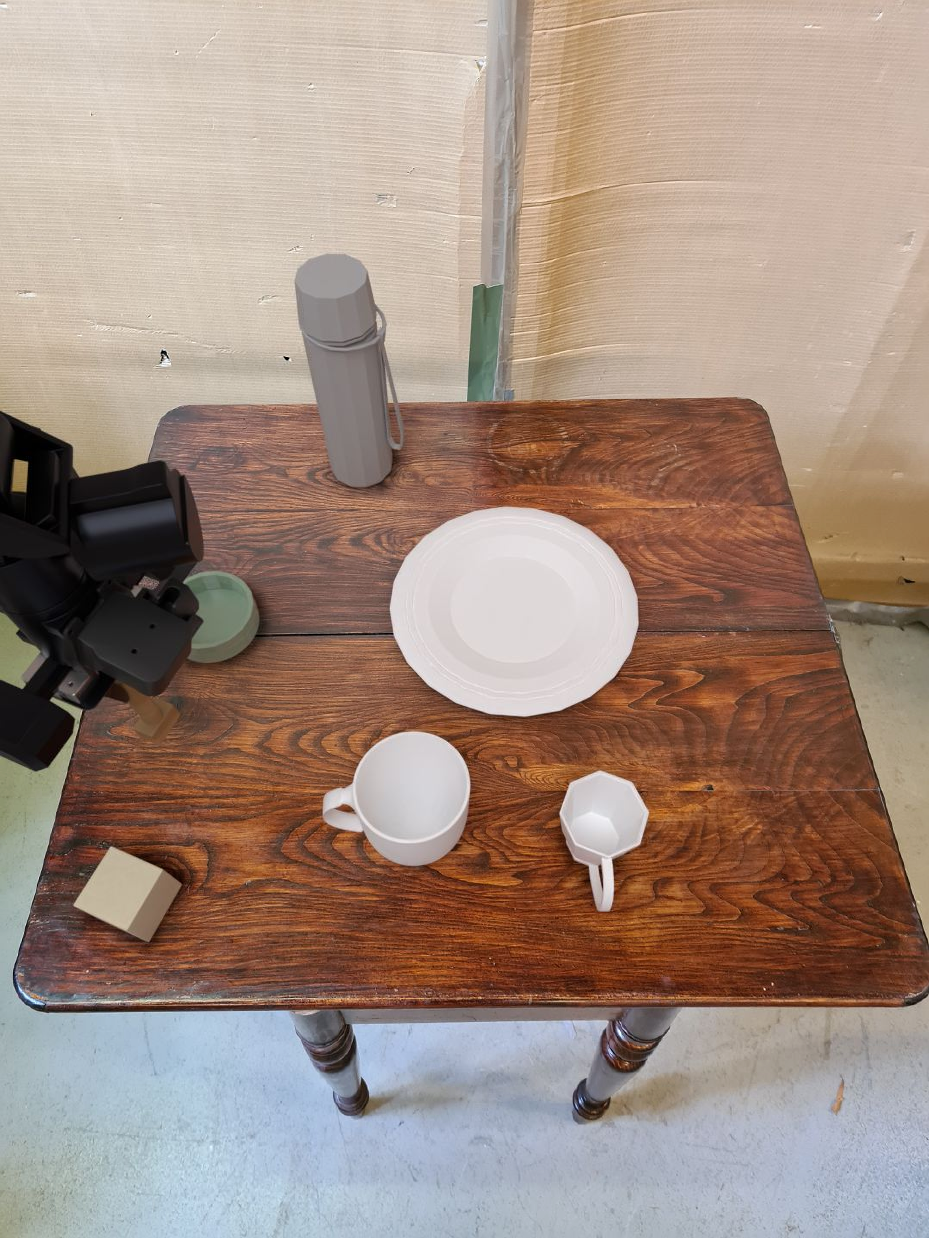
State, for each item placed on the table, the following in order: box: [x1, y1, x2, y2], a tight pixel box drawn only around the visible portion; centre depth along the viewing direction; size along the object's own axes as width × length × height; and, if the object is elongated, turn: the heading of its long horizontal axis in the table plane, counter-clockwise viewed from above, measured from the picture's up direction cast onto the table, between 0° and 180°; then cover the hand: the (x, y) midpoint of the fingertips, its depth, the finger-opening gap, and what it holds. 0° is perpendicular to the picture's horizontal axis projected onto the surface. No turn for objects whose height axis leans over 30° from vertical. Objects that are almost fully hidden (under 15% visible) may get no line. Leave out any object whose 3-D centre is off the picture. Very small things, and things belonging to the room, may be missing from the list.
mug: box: [322, 730, 471, 867], centre depth 64 cm, size 12×9×12 cm
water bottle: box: [294, 253, 405, 488], centre depth 81 cm, size 9×8×25 cm
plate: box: [389, 506, 640, 718], centre depth 80 cm, size 25×25×2 cm
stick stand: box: [73, 845, 183, 943], centre depth 64 cm, size 5×5×5 cm
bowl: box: [183, 570, 260, 664], centre depth 79 cm, size 9×9×3 cm
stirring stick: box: [115, 680, 181, 747], centre depth 64 cm, size 2×3×10 cm, turn 157°
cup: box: [558, 769, 650, 912], centre depth 65 cm, size 7×10×8 cm
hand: (130, 689), depth 62 cm, fingers closed on stirring stick, 2 cm apart
